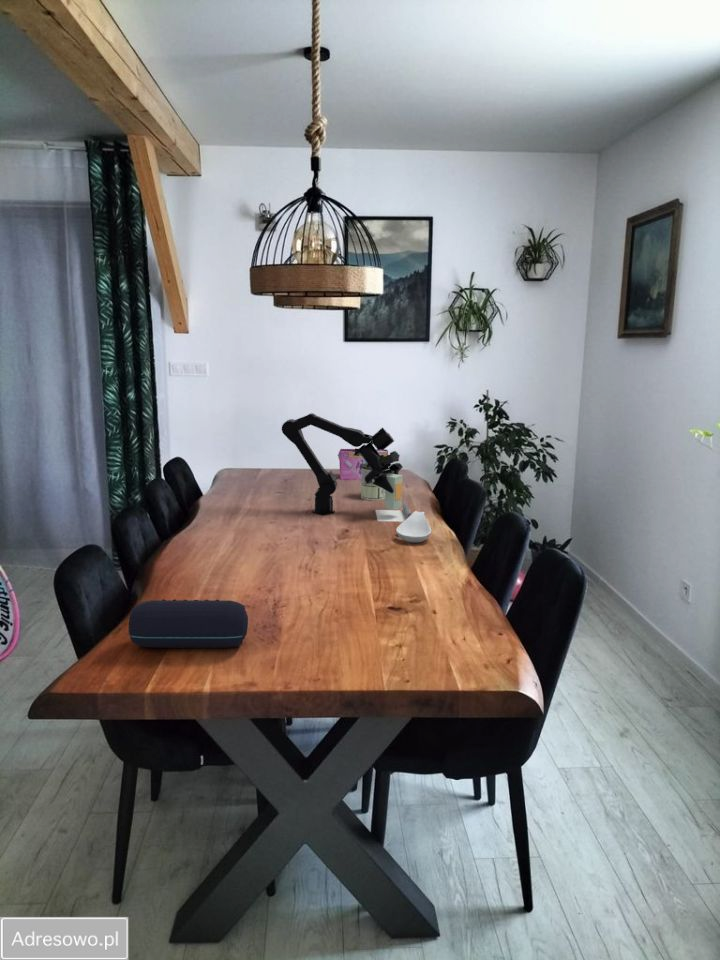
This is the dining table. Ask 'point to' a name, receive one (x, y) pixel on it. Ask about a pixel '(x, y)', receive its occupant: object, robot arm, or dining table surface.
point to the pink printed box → (353, 463)
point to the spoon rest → (414, 528)
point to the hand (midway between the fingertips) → (397, 491)
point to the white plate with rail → (394, 514)
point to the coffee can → (370, 487)
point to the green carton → (394, 498)
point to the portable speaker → (188, 624)
